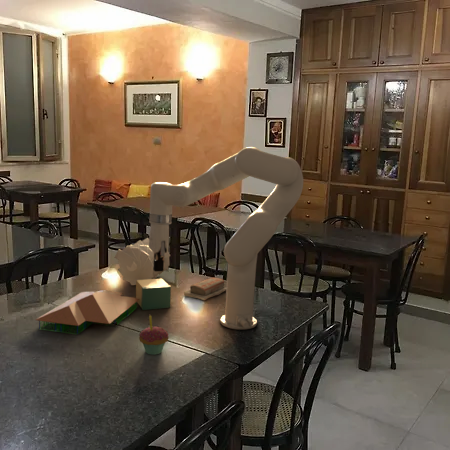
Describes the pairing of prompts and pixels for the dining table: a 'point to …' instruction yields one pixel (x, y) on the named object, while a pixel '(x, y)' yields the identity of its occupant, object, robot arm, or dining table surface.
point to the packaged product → (206, 288)
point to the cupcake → (153, 338)
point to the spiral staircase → (138, 262)
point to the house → (89, 310)
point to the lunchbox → (153, 294)
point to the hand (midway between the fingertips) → (158, 270)
